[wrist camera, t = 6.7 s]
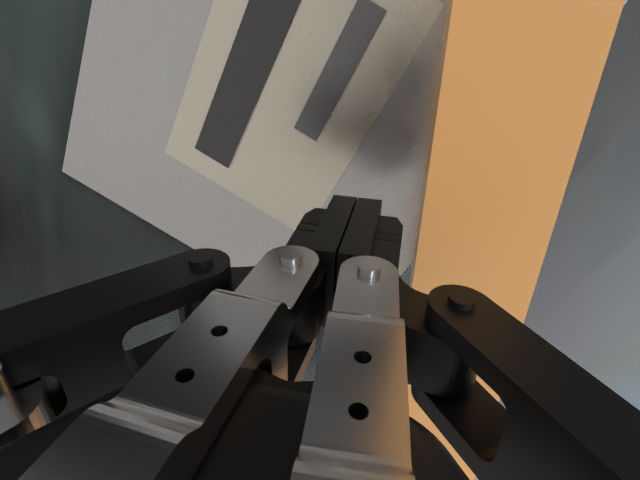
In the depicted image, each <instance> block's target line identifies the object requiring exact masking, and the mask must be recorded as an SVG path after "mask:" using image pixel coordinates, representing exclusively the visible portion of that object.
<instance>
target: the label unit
mask: <svg viewBox="0 0 640 480" xmlns="http://www.w3.org/2000/svg"><path fill="white" fill-rule="evenodd" d="M627 1H628V0H625V2H624V5H625V3H626V2H627ZM448 2H449V0H92V4H91V10H90V15H89V21H88V27H87V33H86V38H85V44H84V50H83V55H82V61H81V67H80V72H79V78H78V84H77V89H76V95H75V101H74V106H73V112H72V118H71V123H70V129H69V135H68V140H67V146H66V152H65V157H64V163H63V169H62V172H64V173H66V174H67V175H69V176H71V177H72V178H74V179H76V180H78V181H79V182H81V183H83V184H84V185H86V186H88V187H89V188H91V189H93V190H94V191H96V192H98V193H100V194H101V195H103V196H105V197H106V198H108V199H110V200H111V201H113V202H115V203H117V204H118V205H120V206H122V207H123V208H125V209H127V210H128V211H130V212H132V213H134V214H135V215H137V216H139V217H140V218H142V219H144V220H145V221H147V222H149V223H151V224H152V225H154V226H156V227H157V228H159V229H161V230H162V231H164V232H166V233H168V234H169V235H171V236H173V237H174V238H176V239H178V240H179V241H181V242H183V243H185V244H186V245H188V246H190V247H191V248H193V249H201V248H212V249H217V250H221V251H223V252H225V253H226V254H227V255H228V256H229V258H230V264H231V267H248V266H256V265H257V263H258V262H259V261H260V260H261V259H262V257H263V256H264V255H265V254H266V253H267V252H268V251H270V250H272V249H274V248H277V247H280V246H286V244H287V242H288V241H289V239H290V237H291V236H292V234H293V232H294V231H295V230H296V227H297V226H298V224H299V223H300V221H301V219H302V218H303V216H304V214H305V213H307V212H309V211H310V210H312V209H314V208H323V209H327V207H328V205H329V203H330V201H331V199H332V197H333V195H342V196H351V197H357V199H358V198H359V197H360V198H369V199H378V200H382V208H381V215H382V216H390V217H397V218H398V219H399V221H400V222H401V223H402V225H403V232H402V241H401V250H400V259H399V268H398V273H399V276H401V275H402V273H403V272H404V271H405V270H406V269H407V267H408V266H409V265H410V264H411V262H412V261H413V254H414V247H415V240H416V232H417V225H418V218H419V211H420V204H421V196H422V189H423V182H424V175H425V168H426V160H427V153H428V146H429V139H430V132H431V124H432V117H433V110H434V103H435V96H436V88H437V81H438V74H439V67H440V60H441V52H442V45H443V38H444V31H445V24H446V16H447V9H448ZM624 5H623V6H624Z"/></svg>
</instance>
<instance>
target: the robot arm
mask: <svg viewBox="0 0 640 480" xmlns="http://www.w3.org/2000/svg"><path fill="white" fill-rule="evenodd" d="M381 208H382V200H378V199H369V198H360V197H359V198H358V199H357V197H351V196H342V195H333V197H332V199H331V201H330V203H329V205H328V207H327V209H323V208H314V209H312V210H310V211H309V212H307V213H305V214H304V216H303V218H302V219H301V221H300V223H299V224H298V226H297V227H296V230H295V231H294V232H293V234H292V236H291V237H290V239H289V241H288V242H287V244H286V246H280V247H277V248H274V249H272V250H270V251H268V252H267V253H266V254H265V255H264V256H263V257H262V259H261V260H260V261H259V262H258V263H257V265H256V266H248V267H231V264H230V258H229V256H228V255H227V254H226V253H225V252H223V251H221V250H217V249H212V248H201V249H194V250H190V251H187V252H184V253H180V254H177V255H174V256H171V257H168V258H165V259H161V260H158V261H155V262H152V263H149V264H146V265H143V266H139V267H136V268H133V269H130V270H127V271H124V272H120V273H117V274H114V275H111V276H108V277H105V278H101V279H98V280H95V281H92V282H89V283H86V284H83V285H79V286H76V287H73V288H70V289H67V290H64V291H60V292H57V293H54V294H51V295H48V296H45V297H41V298H38V299H35V300H32V301H29V302H26V303H23V304H19V305H16V306H13V307H10V308H7V309H4V310H0V480H470V479H469V478H468V477H467V475H466V474H465V473H464V471H463V470H462V469H461V467H460V466H459V464H458V463H457V462H456V460H455V459H454V458H453V456H452V455H451V454H450V452H449V451H448V450H447V449H446V447H445V446H444V445H443V444H442V443H441V442H440V441H439V440H438V439H437V437H436V436H435V435H434V434H433V433H431V432H430V431H429V430H428V429H427V428H426V427H424V426H423V425H422V424H420V423H419V422H418V421H416V420H415V419H413V418H412V417H410V416H409V403H408V384H410V385H411V393H412V396H413V398H414V400H415V401H416V403H417V404H418V405H419V406H420V408H421V409H422V410H423V411H424V412H425V414H426V415H427V416H428V417H429V419H430V420H431V421H432V422H433V424H434V425H435V426H436V427H437V429H438V430H439V431H440V432H441V434H442V435H443V436H444V437H445V438H446V440H447V441H448V442H449V443H450V445H451V446H452V447H453V448H454V450H455V451H456V452H457V453H458V455H459V456H460V457H461V458H462V459H463V461H464V462H465V463H466V464H467V466H468V467H469V468H470V469H471V471H472V472H473V473H474V474H475V476H476V477H477V478H478V479H479V480H640V411H639V410H638V409H637V408H635V407H634V406H633V405H631V404H630V403H629V402H627V401H626V400H624V399H623V398H622V397H620V396H619V395H618V394H616V393H615V392H614V391H612V390H611V389H610V388H608V387H607V386H606V385H604V384H603V383H602V382H600V381H599V380H598V379H596V378H595V377H594V376H592V375H591V374H590V373H588V372H587V371H586V370H584V369H583V368H582V367H580V366H579V365H578V364H576V363H575V362H574V361H572V360H571V359H570V358H568V357H567V356H566V355H564V354H563V353H562V352H560V351H559V350H558V349H556V348H555V347H554V346H552V345H551V344H550V343H548V342H547V341H546V340H544V339H543V338H542V337H540V336H539V335H538V334H536V333H535V332H534V331H532V330H531V329H530V328H528V327H527V326H526V325H524V324H523V323H522V322H520V321H519V320H518V319H516V318H515V317H513V316H512V315H511V314H509V313H508V312H507V311H505V310H504V309H503V308H501V307H500V306H499V305H497V304H496V303H495V302H493V301H492V300H491V299H489V298H488V297H487V296H485V295H484V294H482V293H481V292H479V291H477V290H475V289H472V288H469V287H466V286H462V285H454V284H448V285H441V286H438V287H436V288H434V289H432V290H431V291H430V293H429V295H427V294H425V293H422V292H419V291H417V290H415V289H413V288H411V287H409V286H408V285H407V284H405V283H404V282H403V281H402V279H401V278H400V276H399V273H398V268H399V259H400V250H401V241H402V232H403V225H402V223H401V222H400V221H399V219H398V218H397V217H390V216H382V215H381ZM177 309H179V315H180V321H181V326H180V327H179V328H178V329H177V330H175V331H173V332H171V333H168V334H166V335H164V336H161V337H159V338H157V339H154V340H152V341H149V342H147V343H145V344H142V345H140V346H138V347H135V348H133V349H130V350H127V351H124V350H123V346H122V340H123V337H124V335H125V334H126V332H127V331H128V330H130V329H131V328H132V327H134V326H136V325H138V324H141V323H143V322H146V321H149V320H151V319H154V318H156V317H159V316H161V315H164V314H166V313H169V312H171V311H174V310H177ZM321 326H323V327H325V329H324V334H323V339H322V344H321V349H320V353H319V358H318V363H317V368H316V373H315V378H314V381H301V380H302V378H303V376H304V373H305V371H306V369H307V367H308V364H309V362H310V360H311V358H312V355H313V353H314V351H315V348H316V337H317V335H318V333H319V330H320V327H321ZM477 375H478V376H479V377H480V378H481V379H482V380H483V381H484V382H485V383H486V384H487V385H488V386H489V387H490V388H491V389H492V390H493V391H494V392H495V393H496V394H497V395H498V396H499V397H500V398H501V400H502V401H503V403H504V405H505V407H506V409H505V408H504V407H503V406H502V405H501V404H500V403H499V402H498V401H497V400H496V399H495V398H494V397H493V396H492V395H491V394H490V393H489V392H488V391H487V390H486V389H485V388H484V387H483V386H482V385H481V384H480V383H479V382H478V381H476V380H475V379H476V376H477Z"/></svg>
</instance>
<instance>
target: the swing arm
mask: <svg viewBox="0 0 640 480" xmlns="http://www.w3.org/2000/svg"><path fill="white" fill-rule="evenodd" d="M624 2H625V0H449V2H448V9H447V16H446V24H445V31H444V38H443V45H442V52H441V60H440V67H439V74H438V81H437V88H436V96H435V103H434V110H433V117H432V124H431V132H430V139H429V146H428V153H427V160H426V168H425V175H424V182H423V189H422V196H421V204H420V211H419V218H418V225H417V232H416V240H415V247H414V254H413V261H412V268H411V275H410V283H409V287H411V288H413V289H415V290H417V291H419V292H422V293H425V294H427V295H429V293H430V291H431V290H432V289H434V288H436V287H438V286H441V285H448V284H454V285H462V286H466V287H469V288H472V289H475V290H477V291H479V292H481V293H482V294H484V295H485V296H487V297H488V298H489V299H491V300H492V301H493V302H495V303H496V304H497V305H499V306H500V307H501V308H503V309H504V310H505V311H507V312H508V313H509V314H511V315H512V316H513V317H515V318H516V319H518V320H519V321H520V322H522V323H523V324H524V320H525V317H526V314H527V311H528V308H529V304H530V301H531V298H532V295H533V292H534V289H535V285H536V282H537V279H538V276H539V273H540V270H541V266H542V263H543V260H544V257H545V254H546V250H547V247H548V244H549V241H550V238H551V235H552V231H553V228H554V225H555V222H556V219H557V215H558V212H559V209H560V206H561V203H562V200H563V196H564V193H565V190H566V187H567V184H568V180H569V177H570V174H571V171H572V168H573V165H574V161H575V158H576V155H577V152H578V149H579V145H580V142H581V139H582V136H583V133H584V130H585V126H586V123H587V120H588V117H589V114H590V110H591V107H592V104H593V101H594V98H595V95H596V91H597V88H598V85H599V82H600V79H601V75H602V72H603V69H604V66H605V63H606V60H607V56H608V53H609V50H610V47H611V44H612V40H613V37H614V34H615V31H616V28H617V25H618V21H619V18H620V15H621V12H622V9H623V5H624ZM475 380H476V381H478V382H479V383H480V384H481V385H482V386H483V387H484V388H485V389H486V390H487V391H488V392H489V393H490V394H491V395H492V396H493V397H494V398H495V399H496V400H497V401H498V402H499V400H500V397H499V396H498V395H497V394H496V393H495V392H494V391H493V390H492V389H491V388H490V387H489V386H488V385H487V384H486V383H485V382H484V381H483V380H482V379H481V378H480V377H479V376H478V375H477V376H476V379H475ZM408 403H409V416H410V417H412V418H413V419H415V420H416V421H418V422H419V423H420V424H422V425H423V426H424V427H426V428H427V429H428V430H429V431H430V432H431V433H433V434H434V435H435V436H436V437H437V439H438V440H439V441H440V442H441V443H442V444H443V445H444V446H445V447H446V449H447V450H448V451H449V452H450V454H451V455H452V456H453V458H454V459H455V460H456V462H457V463H458V464H459V466H460V467H461V469H462V470H463V471H464V473H465V474H466V475H467V477H468V478H469V479H470V480H474V479H475V474H474V473H473V472H472V471H471V469H470V468H469V467H468V466H467V464H466V463H465V462H464V461H463V459H462V458H461V457H460V456H459V455H458V453H457V452H456V451H455V450H454V448H453V447H452V446H451V445H450V443H449V442H448V441H447V440H446V438H445V437H444V436H443V435H442V434H441V432H440V431H439V430H438V429H437V427H436V426H435V425H434V424H433V422H432V421H431V420H430V419H429V417H428V416H427V415H426V414H425V412H424V411H423V410H422V409H421V408H420V406H419V405H418V404H417V403H416V401H415V400H414V398H413V396H412V393H411V385H410V384H408Z"/></svg>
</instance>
